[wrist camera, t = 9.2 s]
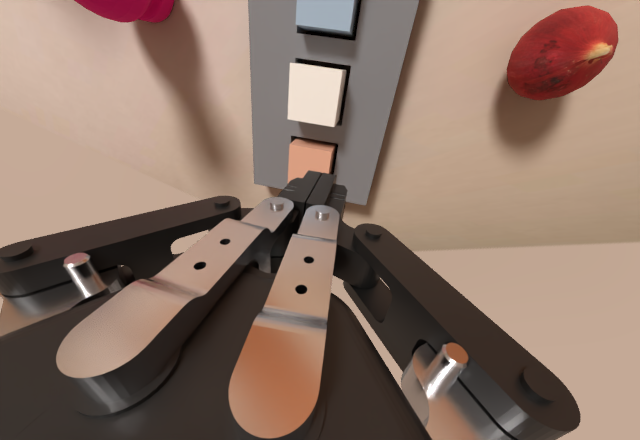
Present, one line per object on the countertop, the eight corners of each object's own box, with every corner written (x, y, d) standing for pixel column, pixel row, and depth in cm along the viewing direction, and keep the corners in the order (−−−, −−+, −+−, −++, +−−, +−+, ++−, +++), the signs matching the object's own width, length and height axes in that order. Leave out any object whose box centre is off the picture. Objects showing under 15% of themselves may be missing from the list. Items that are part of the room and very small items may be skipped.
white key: (347, 70, 23) (342, 70, 19) (339, 119, 25) (334, 127, 22) (301, 63, 23) (289, 62, 20) (298, 112, 25) (287, 119, 22)
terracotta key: (336, 142, 27) (331, 151, 24) (331, 177, 30) (325, 191, 26) (299, 135, 28) (289, 144, 24) (296, 171, 30) (287, 183, 27)
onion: (516, 108, 23) (573, 124, 17) (477, 66, 22) (522, 65, 16) (585, 50, 20) (688, 41, 14) (545, -2, 19) (637, -40, 13)
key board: (428, -51, 19) (437, -69, 17) (366, 194, 31) (365, 205, 29) (261, -67, 20) (245, -86, 18) (263, 174, 32) (254, 183, 30)
